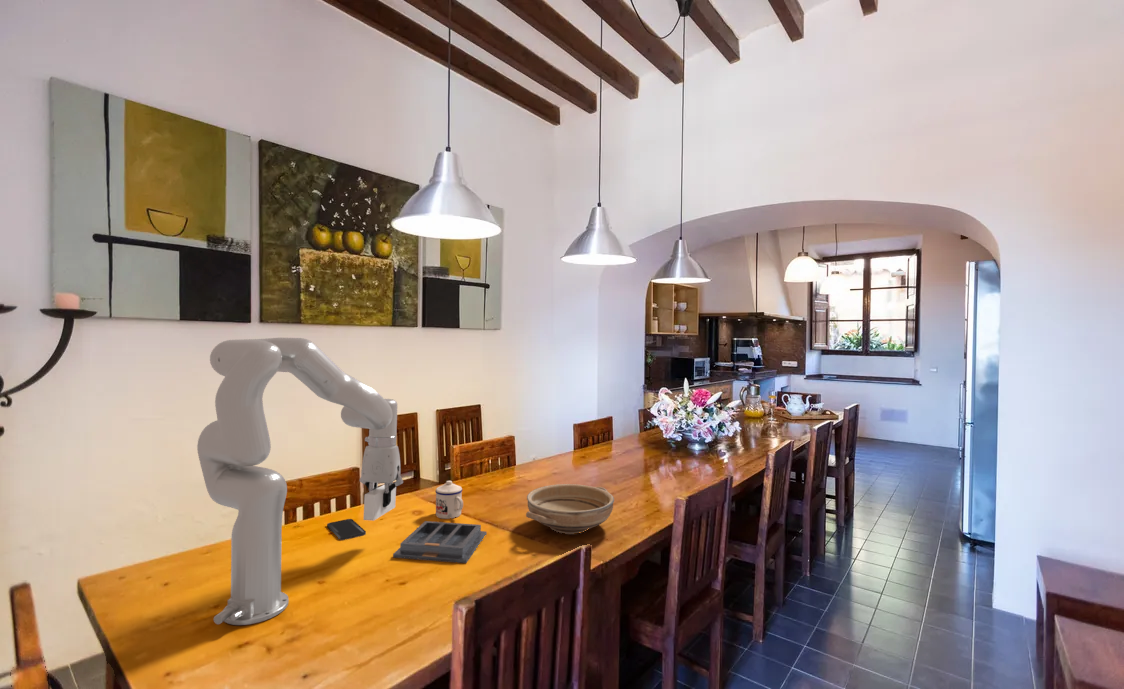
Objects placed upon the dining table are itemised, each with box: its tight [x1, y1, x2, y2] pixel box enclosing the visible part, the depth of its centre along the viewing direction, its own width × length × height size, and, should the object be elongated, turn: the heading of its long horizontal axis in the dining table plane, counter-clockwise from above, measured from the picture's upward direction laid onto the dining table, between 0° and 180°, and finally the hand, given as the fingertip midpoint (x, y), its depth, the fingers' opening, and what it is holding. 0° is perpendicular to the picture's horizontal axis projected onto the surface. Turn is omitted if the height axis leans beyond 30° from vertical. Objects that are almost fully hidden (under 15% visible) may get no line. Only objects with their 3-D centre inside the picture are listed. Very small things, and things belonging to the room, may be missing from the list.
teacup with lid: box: [435, 480, 464, 520], centre depth 172 cm, size 12×9×12 cm
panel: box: [363, 484, 397, 522], centre depth 145 cm, size 13×3×7 cm, turn 173°
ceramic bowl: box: [525, 483, 615, 535], centre depth 164 cm, size 37×29×10 cm
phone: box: [326, 518, 367, 541], centre depth 158 cm, size 8×1×15 cm
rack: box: [392, 520, 487, 564], centre depth 147 cm, size 20×21×4 cm
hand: (380, 504), depth 145 cm, fingers closed on panel, 2 cm apart
